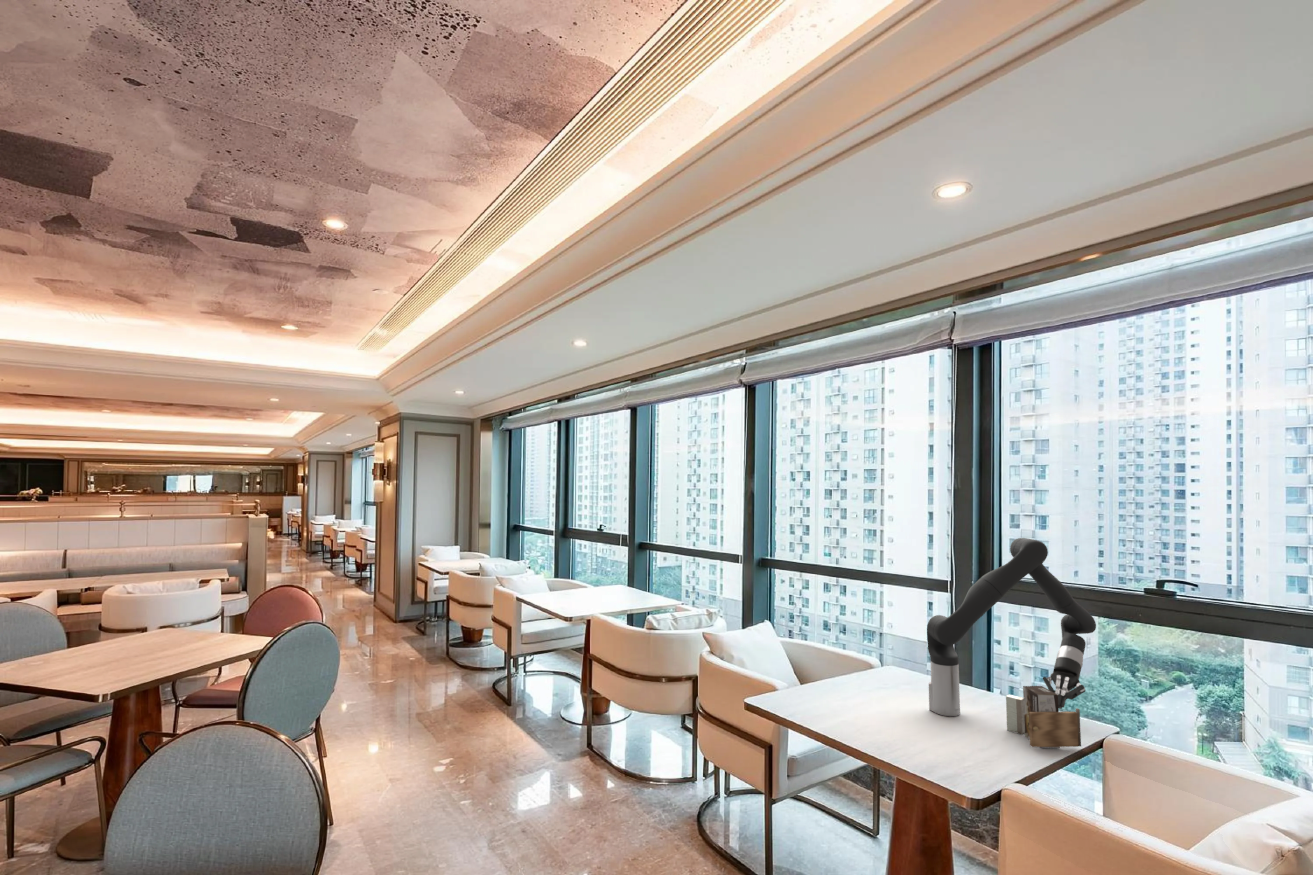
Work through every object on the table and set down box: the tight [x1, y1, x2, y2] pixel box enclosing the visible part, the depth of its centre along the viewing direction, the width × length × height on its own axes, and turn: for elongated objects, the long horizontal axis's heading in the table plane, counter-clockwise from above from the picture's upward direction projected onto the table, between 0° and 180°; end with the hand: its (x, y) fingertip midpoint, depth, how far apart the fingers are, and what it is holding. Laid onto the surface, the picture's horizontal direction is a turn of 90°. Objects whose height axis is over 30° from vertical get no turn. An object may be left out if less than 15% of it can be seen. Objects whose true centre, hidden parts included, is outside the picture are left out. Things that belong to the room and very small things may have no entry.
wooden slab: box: [1029, 707, 1082, 748], centre depth 194 cm, size 16×2×11 cm, turn 91°
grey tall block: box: [1005, 694, 1025, 736], centre depth 208 cm, size 5×3×11 cm, turn 41°
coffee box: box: [1022, 685, 1061, 749], centre depth 200 cm, size 9×6×16 cm
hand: (1058, 706), depth 211 cm, fingers closed
